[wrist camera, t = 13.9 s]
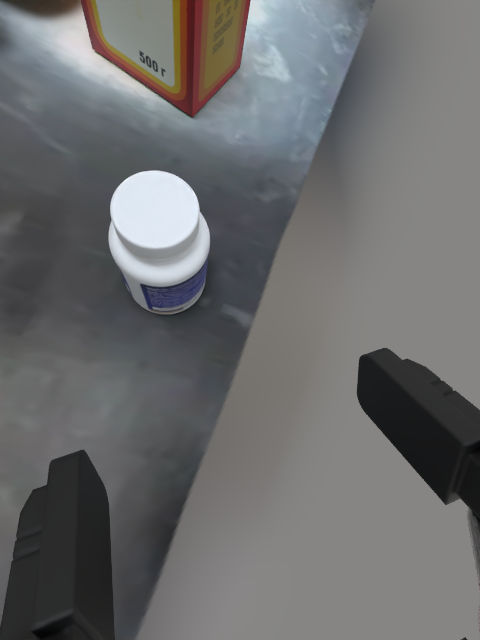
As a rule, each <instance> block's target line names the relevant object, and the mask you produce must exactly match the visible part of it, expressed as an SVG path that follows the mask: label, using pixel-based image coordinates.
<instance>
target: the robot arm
mask: <svg viewBox="0 0 480 640" xmlns="http://www.w3.org/2000/svg"><path fill="white" fill-rule="evenodd" d="M357 396H358V400H359V403H360V405H361V407H362V409H363V410H364V412H365V413H366V414H367V415H368V416H369V417H370V419H371V420H372V421H373V422H374V423H375V424H376V425H377V427H378V428H379V429H380V430H381V431H382V432H383V434H384V435H385V436H386V437H387V438H388V439H389V440H390V441H391V443H392V444H393V445H394V446H395V447H396V448H397V450H398V451H399V452H400V453H401V454H402V455H403V457H405V459H406V460H407V461H408V462H409V463H410V465H411V466H412V467H413V468H414V469H415V470H416V471H417V473H418V474H419V475H420V476H421V477H422V478H423V479H424V481H425V482H426V483H427V484H428V485H429V486H430V487H431V489H432V490H433V491H434V492H435V493H436V494H437V495H438V497H439V498H440V499H441V500H442V501H443V502H444V504H445V505H447V504H449V503H452V502H454V501H456V500H458V499H460V498H461V499H462V501H464V503H465V504H466V505H467V519H468V525H469V531H470V536H471V542H472V548H473V554H474V559H475V565H476V570H477V577H478V583H479V589H480V410H479V409H478V408H476V407H475V406H474V405H473V404H471V403H470V402H469V401H468V400H466V399H465V398H464V397H463V396H461V395H460V394H459V393H458V392H456V391H453V389H452V388H451V387H450V386H449V385H448V384H446V383H445V382H444V381H441V380H440V378H439V377H438V376H436V375H435V374H434V373H433V372H432V371H430V370H429V369H427V368H426V367H425V366H422V365H420V364H418V363H416V362H414V361H411V360H409V359H405V360H402V359H400V358H399V357H398V356H397V355H396V354H394V353H393V352H392V351H391V350H389V349H387V348H382V349H379V350H376V351H373V352H371V353H368V354H365V355H362V356H361V357H360V359H359V369H358V384H357ZM16 537H17V541H15V546H14V552H13V558H14V560H13V561H12V564H11V569H10V575H9V581H8V587H7V592H6V598H5V604H4V610H3V615H2V621H1V627H0V640H115V636H114V612H113V588H112V564H111V540H110V517H109V502H108V497H107V493H106V489H105V486H104V484H103V482H102V480H101V478H100V477H99V475H98V473H97V471H96V469H95V468H94V466H93V464H92V462H91V460H90V458H89V457H88V455H87V453H86V452H85V451H84V450H80V451H77V452H74V453H71V454H69V455H66V456H63V457H60V458H57V459H54V460H52V461H51V462H50V465H49V473H48V481H47V485H45V486H43V487H40V488H37V489H34V490H33V491H32V493H31V494H30V496H29V498H28V500H27V502H26V503H25V505H24V507H23V509H22V511H21V513H20V517H19V523H18V529H17V535H16ZM479 631H480V606H479ZM462 640H467V639H466V638H463V639H462Z"/></svg>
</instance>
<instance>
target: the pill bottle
mask: <svg viewBox="0 0 480 640" xmlns="http://www.w3.org/2000/svg"><path fill="white" fill-rule="evenodd" d="M110 212H111V219H112V222H111V224H110V228H109V247H110V250H111V253H112V256H113V259H114V261H115V263H116V265H117V267H118V269H119V271H120V273H121V275H122V277H123V279H124V282H125V284H126V286H127V288H128V290H129V292H130V294H131V296H132V297H133V298H134V300H135V301H136V302H137V303H138V304H139V305H140V306H142V307H143V308H145V309H146V310H148V311H151V312H153V313H157V314H175V313H179V312H181V311H184V310H186V309H187V308H189V307H190V306H192V305H193V304H194V303H195V302H196V301H197V300H198V298H199V297H200V295H201V294H202V292H203V289H204V286H205V280H206V273H207V265H208V257H209V249H210V234H209V229H208V226H207V223H206V221H205V219H204V217H203V215H202V214H201V213H200V211H199V203H198V200H197V197H196V195H195V193H194V192H193V190H192V189H191V187H190V186H189V185H188V184H187V183H186V182H185V181H183V180H182V179H180V178H179V177H177V176H175V175H173V174H170V173H167V172H163V171H145V172H140V173H137V174H135V175H132V176H130V177H129V178H127V179H126V180H125V181H123V182H122V183H121V184H120V185H119V186H118V188H117V189H116V191H115V192H114V195H113V197H112V200H111V206H110Z"/></svg>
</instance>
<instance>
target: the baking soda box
mask: <svg viewBox="0 0 480 640" xmlns="http://www.w3.org/2000/svg"><path fill="white" fill-rule="evenodd" d="M81 4H82V8H83V12H84V16H85V20H86V24H87V28H88V32H89V36H90V40H91V44H92V47H93V49H94V50H96V51H97V52H98V53H100V54H101V55H103V56H104V57H106V58H107V59H109V60H110V61H112V62H113V63H114V64H116V65H117V66H119V67H120V68H122V69H123V70H125V71H126V72H127V73H129V74H130V75H132V76H133V77H135V78H136V79H138V80H139V81H141V82H142V83H143V84H145V85H146V86H148V87H149V88H151V89H152V90H154V91H155V92H157V93H158V94H159V95H161V96H162V97H164V98H165V99H167V100H168V101H170V102H171V103H172V104H174V105H175V106H177V107H178V108H180V109H181V110H183V111H184V112H186V113H187V114H188V115H190V116H191V117H193V116H194V115H195V114H196V113H197V112H198V111H199V110H200V109H201V108H202V107H203V106H204V105H205V104H206V102H207V101H208V100H209V99H210V98H211V97H212V96H213V95H214V94H215V93H216V92H217V91H218V90H219V89H220V88H221V87H222V86H223V85H224V84H225V82H226V81H227V80H228V79H229V78H230V77H231V76H232V75H233V74H234V73H235V72H236V71H237V70H238V69H239V68H240V63H241V57H242V50H243V44H244V38H245V31H246V25H247V19H248V12H249V6H250V0H81Z"/></svg>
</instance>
